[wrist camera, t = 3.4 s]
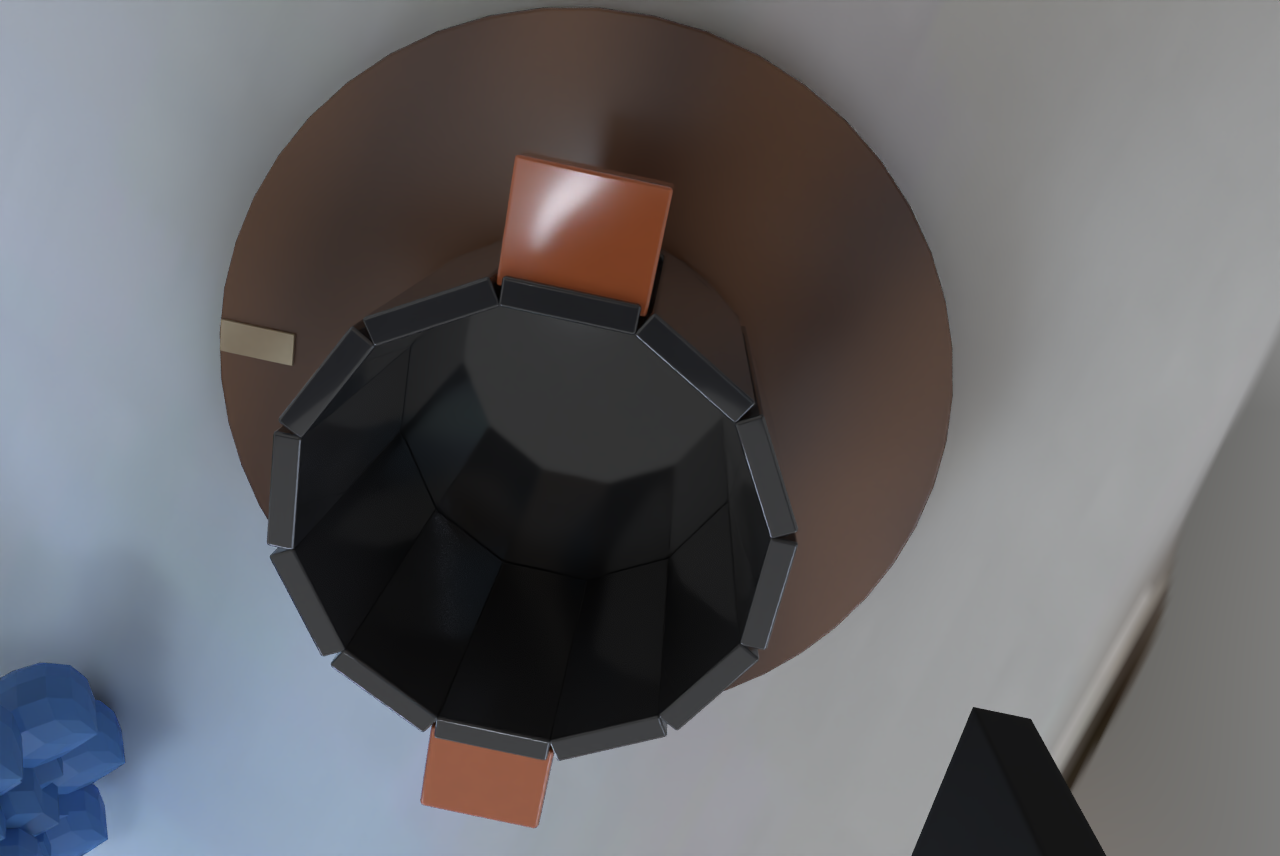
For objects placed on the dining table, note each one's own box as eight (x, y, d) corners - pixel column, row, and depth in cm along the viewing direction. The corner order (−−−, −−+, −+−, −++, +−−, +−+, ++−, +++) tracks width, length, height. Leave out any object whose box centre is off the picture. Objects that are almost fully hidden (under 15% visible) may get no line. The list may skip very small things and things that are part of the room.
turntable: (1044, 106, 20) (1072, 107, 18) (826, 733, 26) (833, 772, 25) (265, -65, 20) (229, -79, 18) (234, 609, 26) (206, 640, 25)
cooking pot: (828, 192, 19) (893, 236, 13) (699, 663, 24) (700, 869, 17) (426, 103, 19) (290, 105, 13) (372, 593, 24) (251, 775, 17)
